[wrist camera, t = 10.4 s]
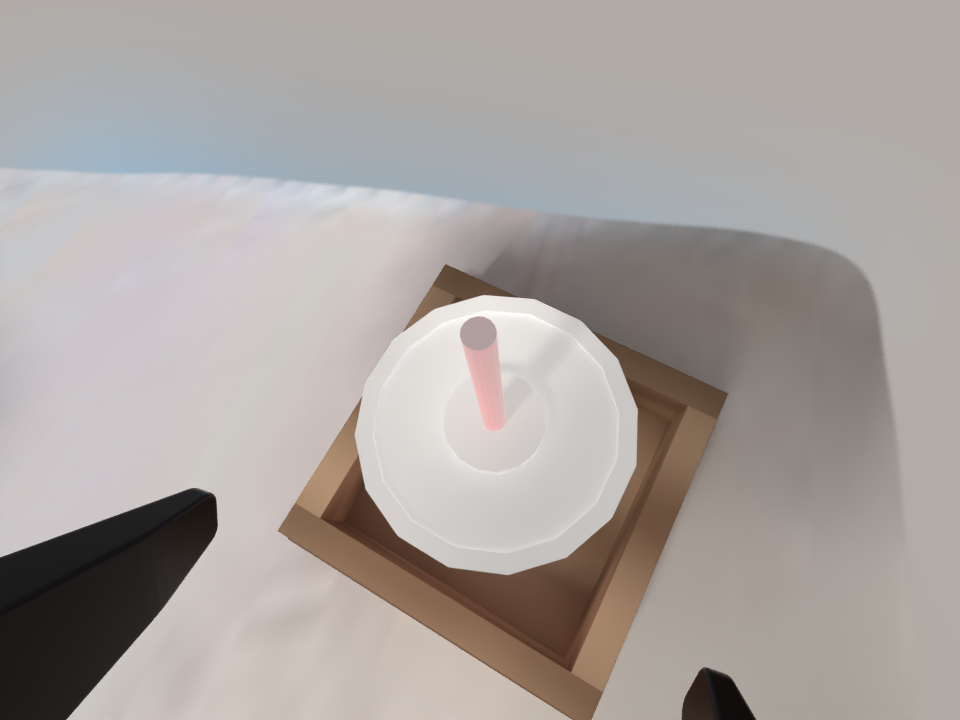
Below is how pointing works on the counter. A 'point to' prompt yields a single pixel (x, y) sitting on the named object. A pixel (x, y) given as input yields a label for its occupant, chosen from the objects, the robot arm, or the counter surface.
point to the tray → (536, 591)
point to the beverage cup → (497, 434)
